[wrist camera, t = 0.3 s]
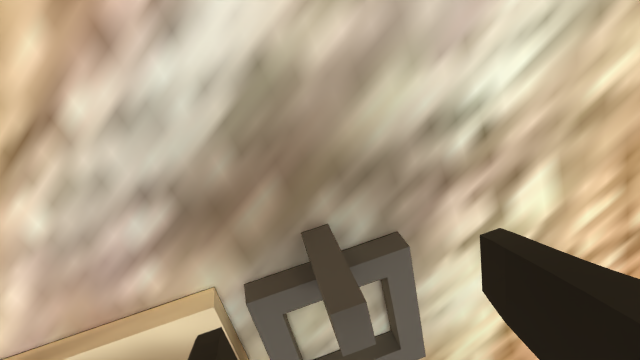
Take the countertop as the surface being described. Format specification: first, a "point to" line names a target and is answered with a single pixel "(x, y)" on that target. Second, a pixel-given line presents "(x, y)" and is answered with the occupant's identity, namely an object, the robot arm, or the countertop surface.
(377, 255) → the dark grey frame stand
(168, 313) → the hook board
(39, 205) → the countertop surface
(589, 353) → the robot arm
